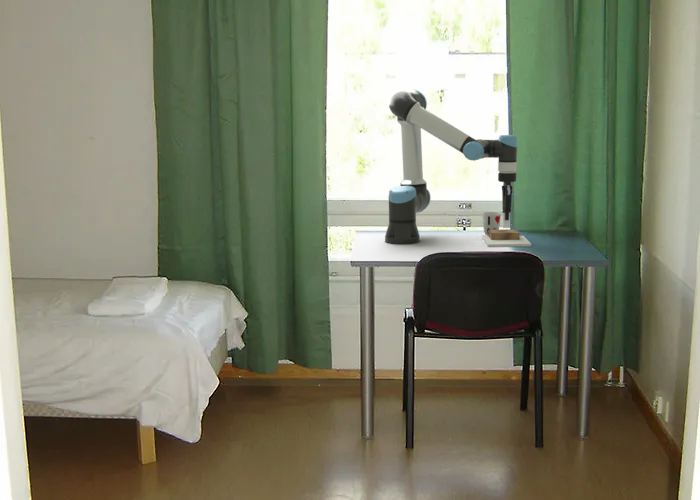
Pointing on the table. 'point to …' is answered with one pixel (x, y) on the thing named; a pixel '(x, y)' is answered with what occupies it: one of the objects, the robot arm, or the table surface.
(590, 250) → the table surface
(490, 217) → the cup
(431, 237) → the table surface
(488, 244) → the mat
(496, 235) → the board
